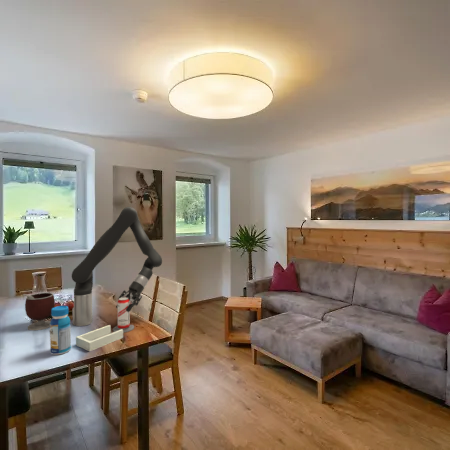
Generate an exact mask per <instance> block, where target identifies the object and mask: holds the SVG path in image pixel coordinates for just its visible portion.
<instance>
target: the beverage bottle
mask: <svg viewBox="0 0 450 450" xmlns="http://www.w3.org/2000/svg"><path fill="white" fill-rule="evenodd" d="M51 317H52V318H51V320H49V321H50V326H51V327H49V341H50V343H49V344H50V354H51V355H54V356H55V355H56V356H58V355H63V354H66V353H68V352H69V351H71V349H72V345H71V343H72V342H71V341H72V340H71V339H72V337H71V336H72V333H71V332H72V331H71V330H72V326H71V318H70V317H69V306H67V305H57V306H55V307H54V308H52V310H51Z"/></svg>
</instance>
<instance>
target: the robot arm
mask: <svg viewBox="0 0 450 450" xmlns="http://www.w3.org/2000/svg"><path fill="white" fill-rule="evenodd" d="M128 228H129V229H130V230H131V232H132V234H133V236H134V238H135V241H136V244H137V245H138V247H139V250H140V251H141V253H142V254H143V255H145V256H146V257H147V258H146V259H145V261H144V262H143V266H142V267H141V269H140V271H139V273H138V274H137V276H135V277H134V279H133V281H132V282H131V284H130V285H129V286H128V290H127V291H126V290H125V289H124V290H123V291H122V292H121V293H120V295H119V296H118V298H117V301H118V300H119V298H122V297H127V298H128V299H129V301H130V304H129V306H128V307H127V309H126V311H127V312H129V311H130V312H131V310H132V309H133V307H134V306H136V307H137V306H138V305H139V303H140V301H141V300H142V298H143V296H142V295H141V294H142V293H143V291H144V289H145V288H146V286H147V285H148V282H149V281H150V279H151V277H152V276H153V273H154V272H153V269H154V268H158V267H160V266H161V265H162V264H163V260H162V259H163V258H162V256H161V255H160V253H159V252H158V251H157V250H156V249H155V248H154V246H153V244H152V242H151V240H150V239H149V236H148V234H146V232H145V230H144V228H143V226H142V224H141V221H140V219H139V216H138V211H137V209H135V208H134V207H133V206H125V207H124V208H122V210H121V212H120V214H119V216H118V217H117V219H116V220H115V222H114V223H113V224H112V225H111V226H110V227H109V228H108V229H107V230H106V231H105V232H104V233H103V234H102V235H101V236H100V237H99V238H98V240H97V241H96V242H95V244H94V245H93V247H92V248H91V249H90V251H89V252H88V253H87V255H86V256H85V258H84V259H83V260H81V262H80V263H79V264H78V265H77V266H76V267H75V268H74V269H73V270H72V273H71V279H72V281H73V282H74V283H75V285H74V289H73V307H72V325H73V326H75V327H85V326H89V325H92V324H93V291H92V290H93V286H94V270H95V268H96V267H97V266H98V265H99V264H100V263H101V262H102V261H103V260H104V259H105V258H106V257H107V256H108V255H109V254H110V253H111V252H112V250H113V249H114V248H115V247H116V245H117V244H118V243H119V241H120V240H121V238H122V236H123V235H124V234H125V232H126V231H127V230H128ZM115 308H116V309H117V310H118V308H117V305H116V306H115Z"/></svg>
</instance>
